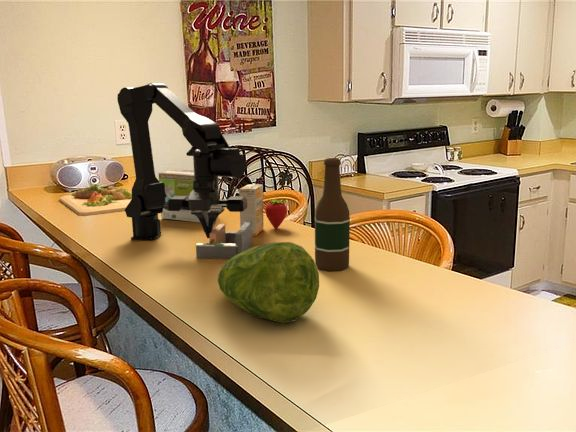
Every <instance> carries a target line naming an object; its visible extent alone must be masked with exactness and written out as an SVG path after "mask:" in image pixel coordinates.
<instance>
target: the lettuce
mask: <svg viewBox="0 0 576 432" xmlns="http://www.w3.org/2000/svg"><path fill="white" fill-rule="evenodd" d="M216 279H217V280H216V281H217V284H218V287H219V290H220V291H221V293H223V295H224V296H225V298H226V299H227V300H228V301H230V302H231V303H233V304H234V305H236V306H237V307H239V308H241V309H242V310H244V311H245V312H247V313H249V315H251V316H253V317H257V318H261V319H265V320H269V321H275V322H278V323H281V324H286V323H290V322H295V321H297V320H298V319H300V318H301V317H302V316H303V315H305V314H306V313H307V312H308V311H309V310H310V309H311V307H313V306H312V305H313V304H314V303H315V301H316V299H317V296H318V293H319V288H320V272H319V269H318V268H317V266H316V264H315V259H314V258H313V257H312V256H311V255H310V253H308V251H307V250H306V249H305V248H304V247H303V246H302V245H300V244H296V243H294V242H291V241H281V242H270V243H265V244H260V245H256V246H253V247H252V246H251V247H250V248H249V249H248V250H246V251H243V252H241V253H239V254H237V255H235V256H234V257H233V258H231V259H227V261H226V262H225V263H224V264H223V266H221V269H220V270H219V272H218V274H217V278H216Z"/></svg>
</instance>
